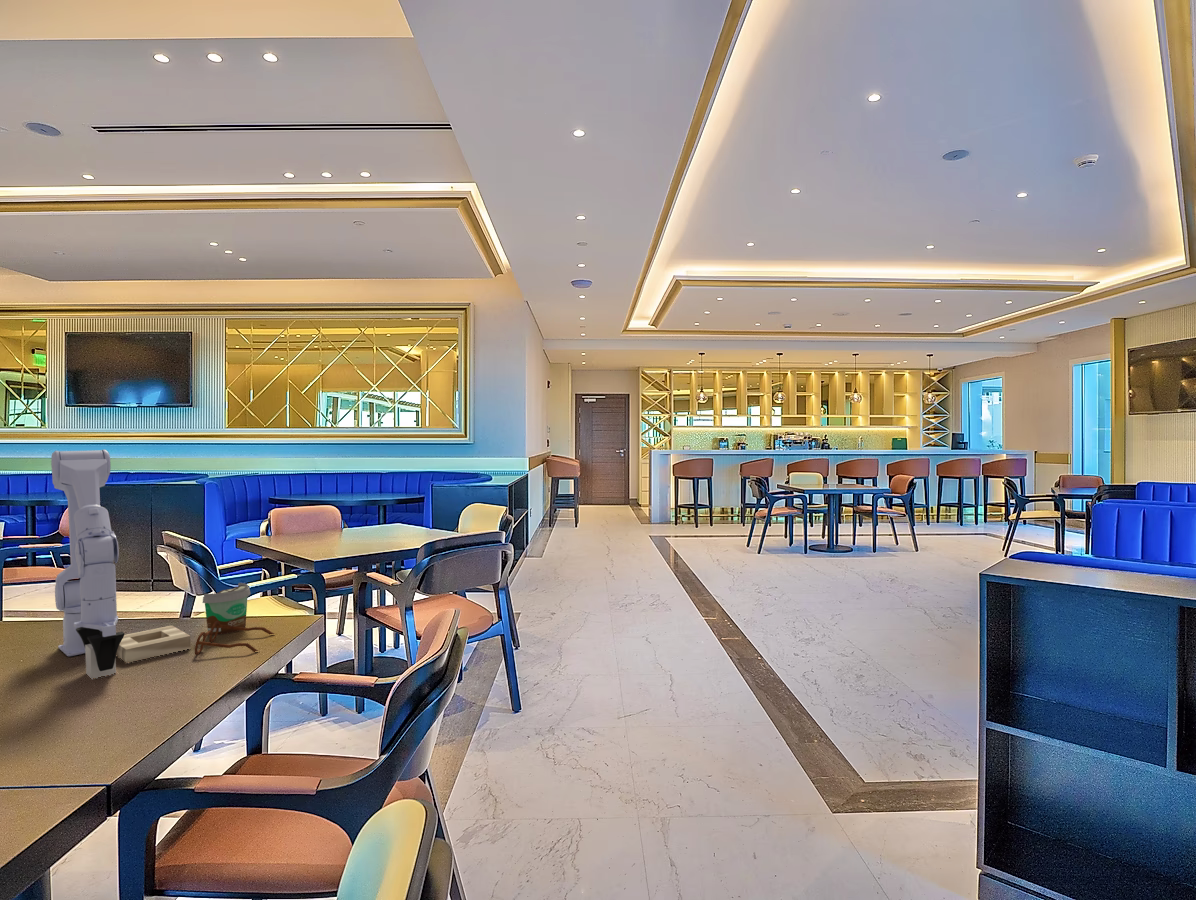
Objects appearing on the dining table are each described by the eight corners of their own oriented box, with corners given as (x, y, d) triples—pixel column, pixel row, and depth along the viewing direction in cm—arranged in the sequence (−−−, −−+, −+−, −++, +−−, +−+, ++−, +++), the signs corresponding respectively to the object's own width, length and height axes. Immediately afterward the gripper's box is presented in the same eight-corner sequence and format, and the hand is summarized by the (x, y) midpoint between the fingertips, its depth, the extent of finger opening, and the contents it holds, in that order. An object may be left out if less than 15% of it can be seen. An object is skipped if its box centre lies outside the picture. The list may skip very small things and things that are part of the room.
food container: (226, 638, 157) (225, 595, 156) (203, 636, 158) (202, 594, 158) (262, 623, 169) (261, 583, 169) (241, 621, 170) (240, 582, 170)
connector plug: (86, 674, 134) (85, 644, 134) (110, 669, 137) (109, 640, 137) (91, 679, 132) (90, 649, 131) (116, 673, 135) (115, 644, 134)
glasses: (215, 640, 157) (214, 618, 157) (275, 636, 159) (275, 615, 159) (193, 659, 144) (192, 636, 144) (259, 655, 147) (258, 632, 146)
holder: (110, 651, 148) (109, 637, 148) (172, 638, 157) (171, 625, 157) (126, 663, 140) (125, 649, 140) (190, 649, 149) (190, 635, 149)
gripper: (64, 595, 136) (66, 662, 136) (83, 607, 126) (85, 679, 127) (106, 588, 141) (109, 653, 141) (127, 600, 131) (129, 669, 132)
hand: (100, 665), depth 134 cm, fingers open, 7 cm apart
